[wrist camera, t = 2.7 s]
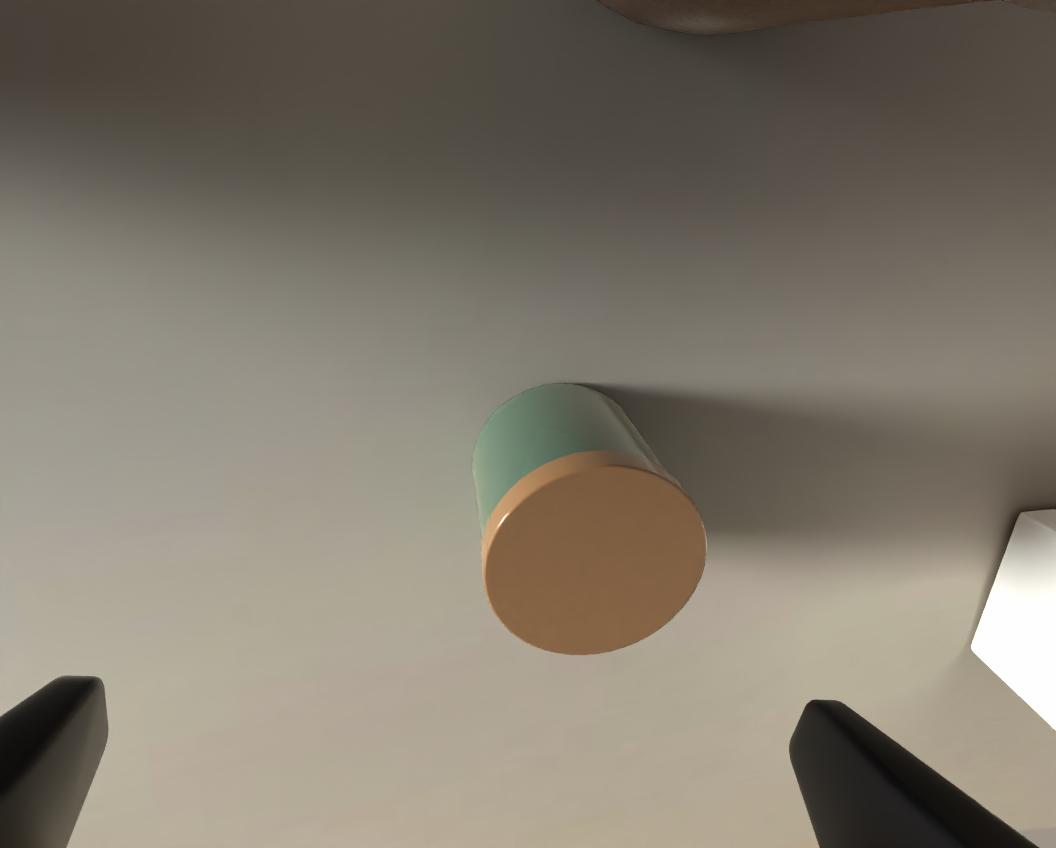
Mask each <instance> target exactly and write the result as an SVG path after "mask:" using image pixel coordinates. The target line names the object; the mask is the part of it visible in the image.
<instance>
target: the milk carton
mask: <svg viewBox="0 0 1056 848" xmlns="http://www.w3.org/2000/svg"><path fill="white" fill-rule="evenodd" d="M971 649H972V651H973V652H974V653H975V654H976V655H977V656H978V657H979V658H980V659H981V660H982V661H983V662H984V663H985V664H987V665H988V666H989V667H990V668H991V669H992V670H993V671H994V672H995V673H996V674H997V675H998V676H999V677H1000V678H1001V679H1002V680H1003V681H1004V682H1005V683H1006V684H1008V685H1009V686H1010V687H1011V688H1012V689H1013V690H1014V691H1015V692H1016V693H1017V694H1018V695H1019V696H1020V697H1021V698H1022V699H1023V700H1024V701H1025V702H1026V703H1028V704H1029V705H1030V706H1031V707H1032V708H1033V709H1034V710H1035V711H1036V712H1037V713H1038V714H1039V715H1040V716H1041V717H1042V718H1043V719H1044V720H1045V721H1046V722H1047V723H1049V724H1050V725H1051V726H1052V727H1053V728H1054V729H1055V730H1056V509H1050V510H1039V511H1028V512H1021V513H1020V515H1019V517H1018V519H1017V522H1016V524H1015V527H1014V529H1013V532H1012V535H1011V537H1010V540H1009V543H1008V546H1007V548H1006V551H1005V554H1004V557H1003V559H1002V562H1001V565H1000V568H999V570H998V573H997V576H996V579H995V581H994V584H993V587H992V590H991V592H990V595H989V598H988V601H987V603H986V606H985V609H984V612H983V614H982V617H981V620H980V623H979V625H978V628H977V631H976V634H975V636H974V639H973V642H972V646H971Z"/></svg>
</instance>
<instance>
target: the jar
mask: <svg viewBox="0 0 1056 848" xmlns="http://www.w3.org/2000/svg"><path fill="white" fill-rule="evenodd" d="M472 473H473V480H474V487H475V495H476V502H477V509H478V516H479V524H480V531H481V538H482V545H481V567H482V574H483V582H484V588H485V593H486V596H487V599H488V602H489V604H490V606H491V608H492V610H493V612H494V614H495V615H496V616H497V618H498V619H499V620H500V622H501V623H502V624H503V625H504V626H505V627H506V628H507V629H508V630H509V631H510V632H511V633H513V634H514V635H515V636H517V637H518V638H520V639H521V640H523V641H524V642H526V643H528V644H530V645H532V646H535V647H537V648H540V649H543V650H546V651H550V652H554V653H559V654H567V655H590V654H599V653H605V652H610V651H614V650H617V649H620V648H624V647H626V646H629V645H631V644H634V643H636V642H638V641H640V640H642V639H644V638H646V637H648V636H650V635H651V634H653V633H654V632H656V631H657V630H659V629H660V628H662V627H663V626H664V625H665V624H667V623H668V622H669V621H670V620H671V619H672V618H673V617H674V616H675V615H676V614H677V613H678V612H679V611H680V610H681V609H682V608H683V607H684V605H685V604H686V603H687V602H688V600H689V599H690V597H691V596H692V594H693V592H694V591H695V589H696V587H697V585H698V583H699V581H700V579H701V576H702V573H703V569H704V566H705V560H706V554H707V539H706V532H705V527H704V524H703V520H702V517H701V515H700V513H699V511H698V509H697V507H696V506H695V504H694V503H693V501H692V500H691V499H690V497H689V496H688V495H687V493H686V492H685V490H684V489H683V488H682V486H681V485H680V484H679V482H678V481H677V480H676V479H675V478H674V477H673V476H672V475H671V474H670V473H669V472H667V471H666V470H665V469H664V467H663V466H662V465H661V463H660V462H659V460H658V459H657V458H656V456H655V455H654V453H653V452H652V451H651V449H650V448H649V446H648V445H647V443H646V442H645V441H644V439H643V438H642V436H641V435H640V434H639V432H638V431H637V429H636V428H635V427H634V425H633V424H632V422H631V421H630V419H629V418H628V417H627V415H626V414H625V413H624V411H623V410H622V409H621V408H620V407H619V406H618V405H617V404H616V403H615V402H614V401H613V400H612V399H610V398H609V397H608V396H606V395H604V394H602V393H600V392H599V391H596V390H594V389H591V388H589V387H585V386H581V385H576V384H566V383H565V384H549V385H543V386H539V387H536V388H532V389H530V390H527V391H525V392H522V393H520V394H518V395H517V396H515V397H513V398H511V399H510V400H508V401H507V402H506V403H504V404H503V405H502V406H501V407H500V408H499V409H497V410H496V411H495V412H494V413H493V414H492V416H491V417H490V418H489V419H488V421H487V422H486V423H485V425H484V427H483V428H482V430H481V432H480V434H479V436H478V438H477V441H476V444H475V447H474V451H473V458H472Z"/></svg>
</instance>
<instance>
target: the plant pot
mask: <svg viewBox="0 0 1056 848" xmlns="http://www.w3.org/2000/svg"><path fill="white" fill-rule="evenodd" d="M597 1H598V2H600V3H602V4H603V5H605V6H606V7H608V8H609V9H611V10H613V11H615V12H617V13H619V14H621V15H623V16H625V17H627V18H629V19H631V20H634V21H636V22H638V23H641V24H646V25H651V26H655V27H660V28H665V29H669V30H674V31H679V32H685V33H692V34H731V33H738V32H744V31H749V30H754V29H759V28H764V27H771V26H780V25H789V24H798V23H807V22H815V21H823V20H831V19H839V18H847V17H855V16H863V15H871V14H880V13H888V12H896V11H904V10H912V9H920V8H929V7H938V6H947V5H956V4H965V3H974V2H983V1H992V0H597ZM1002 1H1006V2H1009V3H1013V4H1016V5H1020V6H1023V7H1027V8H1030V9H1035V10H1043V11H1051V12H1056V0H1002Z"/></svg>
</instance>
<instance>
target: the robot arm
mask: <svg viewBox="0 0 1056 848" xmlns="http://www.w3.org/2000/svg"><path fill="white" fill-rule="evenodd" d="M107 738H108V719H107V709H106V699H105V689H104V684H103V682H102V680H101V679H100V678H98V677H95V676H62V677H59V678H57V679H55V680H53V681H51V682H50V683H49V684H47V685H46V686H44V687H43V688H41V689H40V690H38V691H37V692H35V693H34V694H33V695H31V696H30V697H28V698H27V699H25V700H24V701H22V702H21V703H19V704H18V705H17V706H15V707H14V708H12V709H11V710H9V711H8V712H6V713H5V714H3V715H2V716H1V717H0V848H66V847H67V844H68V842H69V839H70V837H71V834H72V832H73V829H74V826H75V824H76V821H77V819H78V816H79V814H80V811H81V809H82V806H83V803H84V801H85V798H86V796H87V793H88V791H89V788H90V786H91V783H92V781H93V778H94V775H95V773H96V770H97V768H98V765H99V763H100V760H101V758H102V755H103V752H104V750H105V746H106V743H107ZM789 753H790V759H791V763H792V766H793V769H794V772H795V775H796V778H797V781H798V784H799V787H800V790H801V793H802V796H803V799H804V802H805V805H806V808H807V811H808V814H809V817H810V820H811V823H812V826H813V829H814V832H815V835H816V838H817V841H818V844H819V847H820V848H1039V847H1037V846H1036V845H1035V844H1033V843H1032V842H1031V841H1029V840H1028V839H1027V838H1025V837H1024V836H1022V835H1021V834H1020V833H1019V832H1017V831H1016V830H1015V829H1013V828H1012V827H1010V826H1009V825H1008V824H1006V823H1005V822H1004V821H1002V820H1001V819H1000V818H998V817H997V816H996V815H994V814H993V813H991V812H990V811H989V810H987V809H986V808H985V807H983V806H982V805H981V804H979V803H978V802H977V801H975V800H974V799H973V798H971V797H970V796H968V795H967V794H966V793H964V792H963V791H962V790H960V789H959V788H958V787H956V786H955V785H954V784H952V783H951V782H949V781H948V780H947V779H945V778H944V777H943V776H941V775H940V774H939V773H937V772H936V771H935V770H933V769H932V768H930V767H929V766H928V765H926V764H925V763H924V762H922V761H921V760H920V759H918V758H917V757H916V756H914V755H913V754H911V753H910V752H909V751H907V750H906V749H905V748H903V747H902V746H901V745H899V744H898V743H897V742H895V741H894V740H892V739H891V738H890V737H888V736H887V735H886V734H884V733H883V732H882V731H880V730H879V729H878V728H876V727H875V726H873V725H872V724H871V723H869V722H868V721H867V720H865V719H864V718H863V717H861V716H860V715H859V714H857V713H856V712H854V711H853V710H852V709H850V708H849V707H848V706H846V705H845V704H843V703H842V702H839V701H836V700H811V701H810V702H809V703H808V704H807V705H806V706H805V708H804V711H803V713H802V715H801V717H800V720H799V722H798V724H797V726H796V728H795V731H794V733H793V735H792V737H791V740H790V745H789Z"/></svg>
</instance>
